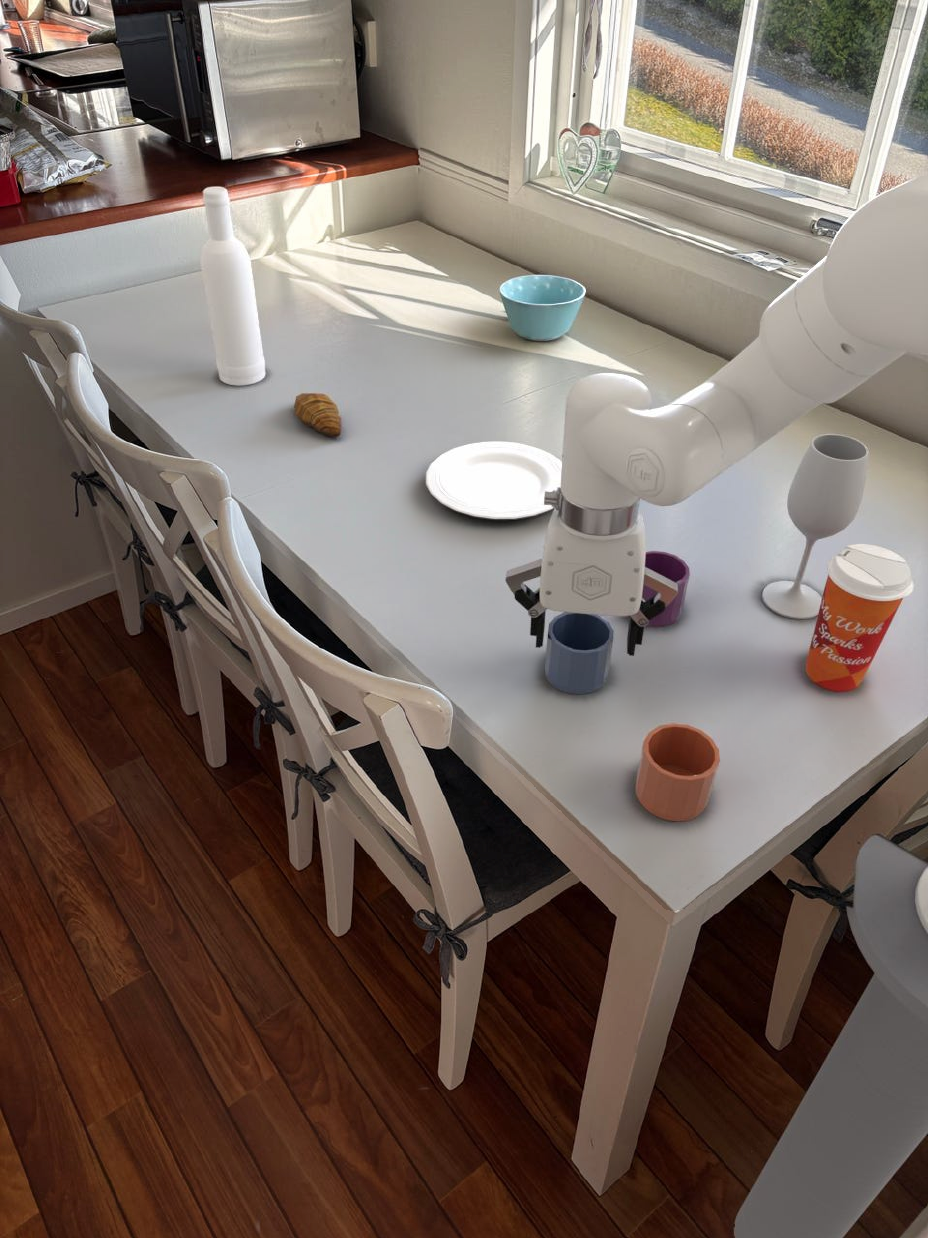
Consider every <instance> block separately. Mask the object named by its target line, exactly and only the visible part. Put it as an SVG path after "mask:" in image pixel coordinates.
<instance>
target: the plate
mask: <svg viewBox="0 0 928 1238" xmlns="http://www.w3.org/2000/svg"><path fill="white" fill-rule="evenodd" d="M561 468H562V460H560V459H559V458H558V457H556V456H555V455H554V454H552V453H550V452H547V451H545V450H543V449H541V448H538V447H535V446H531V445H527V444H523V443H519V442H510V441H480V442H474V443H468V444H467V443H466V444H465V445H461V446H457V447H454V448H451V449H450V450H448V451H446V452H444V453H442V454H440V455H439V456H438V457H437V458H435V459H434V461H432V462H431V463H430V464H429V466H428V468H427V470H426V472H425V486H426V489H428V492H429V494H430V496H431V497H433V498H434V499H435V500H436V501H437V502H438V503H440V504H441V505H442V506H444V507H446V508H448V509H450V510H452V511H454V512H456V513H458V514H460V515H461V514H462V515H464V516H468V517H470V518H475V519H483V520H490V521H517V520H523V519H528V518H529V519H530V518H534V517H537V516H539V515H540V516H541V515H542V514H546V513H548V512H551V511H552V510H554V509H555V508H556V507H552V505H544V496H545V491H553V490H557V487H560V483H561Z"/></svg>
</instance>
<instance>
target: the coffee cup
mask: <svg viewBox="0 0 928 1238" xmlns="http://www.w3.org/2000/svg"><path fill="white" fill-rule="evenodd" d="M826 571H827V577H826V582H825V584H824V588H823V591H822V596H821V598H822V600H821V604H820V609H819V613H818V615H817V616H816V617H817V618H816V621H815V624H814V629H813V633H812V637H811V641H810V644H809V649H808V652H807V653H808V654H807V658H806V663H805V672H806V675H807V676H808V678H809V679H810V680H811V681H812V682H813V683H814V684H816V685H817V686H819V687H821V688H823V689H825V690H828V691H831V692H838V693H845V692H846V693H847V692H851V691H854V690H856V689H857V688H858V687H859V686H860V685H861V683H862V682H863V680H864V678H865V676H866V674H867V672H868V670H869V668H870V666H871V664H872V662H873V660H874V659H875V656H876V654H877V652H878V650H879V648H880V646H881V644H882V642H883V640H884V639H885V636H886V634H887V632H888V630H889V628H890V626H891V624H892V622H893V620H894V618H895V616H896V614H897V612H898V609H899V608H900V606H901V604H902V601H903V600H904V598H907V597H909V596H910V595H911V594H912V592H913V591H914V588H915V585H914V582H913V577H912V575H911V568H910V565H909V564H908V562H907V561H906V559H904V558H903V557H902V556H901V555H899V554H897V553H896V552H895V551H892V550H890V549H888V548H885V547H882V546H878V545H874V544H866V543H857V544H849V545H847V546H845V547H844V548H842V550H840V551H839V552H837V553H836V554H835V555H834V556H832V557H831V558H830V559H829V561H828V563H827V565H826Z"/></svg>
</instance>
